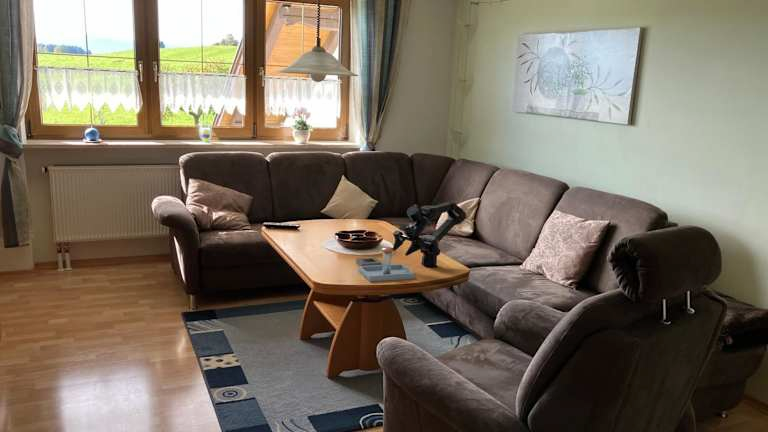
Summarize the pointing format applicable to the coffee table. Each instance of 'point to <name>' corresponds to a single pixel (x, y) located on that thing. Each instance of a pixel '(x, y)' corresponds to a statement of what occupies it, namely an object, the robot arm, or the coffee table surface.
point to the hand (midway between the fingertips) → (399, 253)
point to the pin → (387, 260)
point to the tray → (396, 274)
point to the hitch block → (368, 261)
